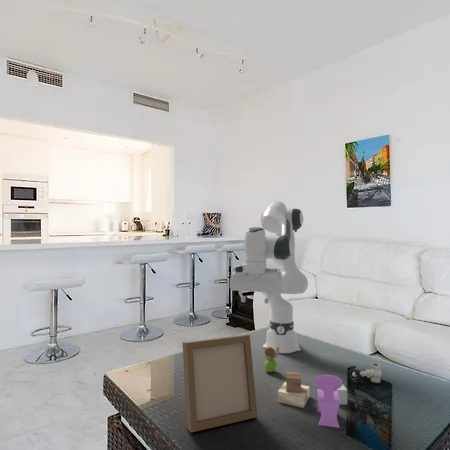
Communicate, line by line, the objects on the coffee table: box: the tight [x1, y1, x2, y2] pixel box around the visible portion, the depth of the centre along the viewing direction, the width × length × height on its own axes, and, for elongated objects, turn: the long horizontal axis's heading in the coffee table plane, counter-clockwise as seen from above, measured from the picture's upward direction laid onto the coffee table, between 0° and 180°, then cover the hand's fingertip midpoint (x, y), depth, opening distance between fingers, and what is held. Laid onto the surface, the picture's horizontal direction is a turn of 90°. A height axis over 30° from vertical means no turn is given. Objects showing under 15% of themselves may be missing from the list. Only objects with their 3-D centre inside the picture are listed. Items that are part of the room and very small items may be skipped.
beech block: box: [277, 380, 311, 409], centre depth 122 cm, size 9×9×4 cm
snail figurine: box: [263, 344, 279, 373], centre depth 145 cm, size 5×6×12 cm
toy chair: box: [314, 373, 343, 429], centre depth 109 cm, size 8×9×15 cm
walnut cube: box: [285, 371, 302, 393], centre depth 121 cm, size 5×5×5 cm
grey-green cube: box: [335, 383, 348, 405], centre depth 121 cm, size 5×5×5 cm
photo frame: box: [182, 334, 258, 434], centre depth 110 cm, size 15×22×25 cm
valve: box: [348, 362, 382, 384], centre depth 136 cm, size 7×7×12 cm
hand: (254, 302), depth 137 cm, fingers open, 8 cm apart
